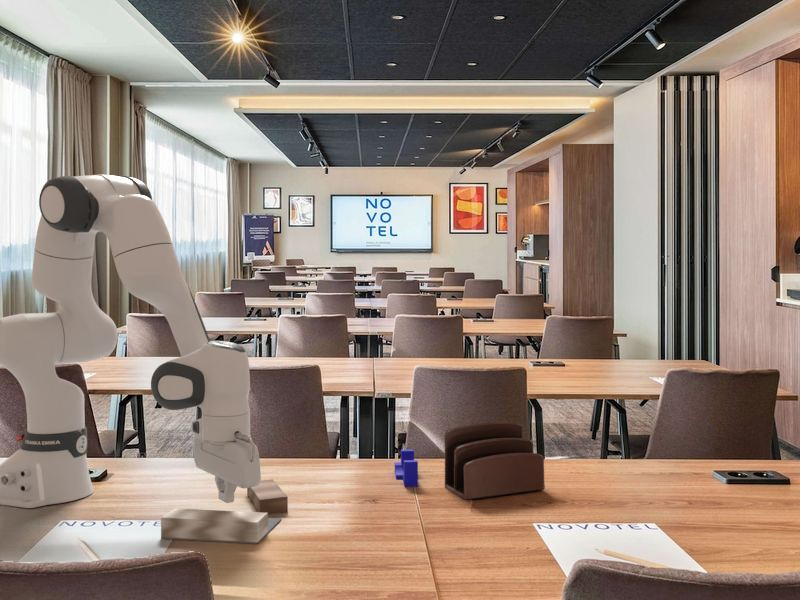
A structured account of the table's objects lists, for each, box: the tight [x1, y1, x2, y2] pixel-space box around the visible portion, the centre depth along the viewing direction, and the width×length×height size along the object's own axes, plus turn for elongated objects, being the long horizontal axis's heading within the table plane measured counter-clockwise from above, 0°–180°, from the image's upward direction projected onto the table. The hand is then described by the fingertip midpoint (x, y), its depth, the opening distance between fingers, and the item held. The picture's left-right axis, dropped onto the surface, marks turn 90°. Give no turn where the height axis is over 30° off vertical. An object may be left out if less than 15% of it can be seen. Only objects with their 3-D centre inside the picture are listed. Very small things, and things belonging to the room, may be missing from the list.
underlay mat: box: [160, 517, 282, 545], centre depth 135 cm, size 18×13×1 cm
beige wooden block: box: [160, 507, 269, 542], centre depth 131 cm, size 18×5×4 cm, turn 81°
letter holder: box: [444, 421, 546, 501], centre depth 161 cm, size 10×20×14 cm, turn 112°
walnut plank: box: [246, 478, 289, 516], centre depth 150 cm, size 14×6×4 cm, turn 22°
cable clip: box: [394, 449, 419, 488], centre depth 168 cm, size 12×4×6 cm, turn 4°
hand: (226, 500), depth 137 cm, fingers closed
